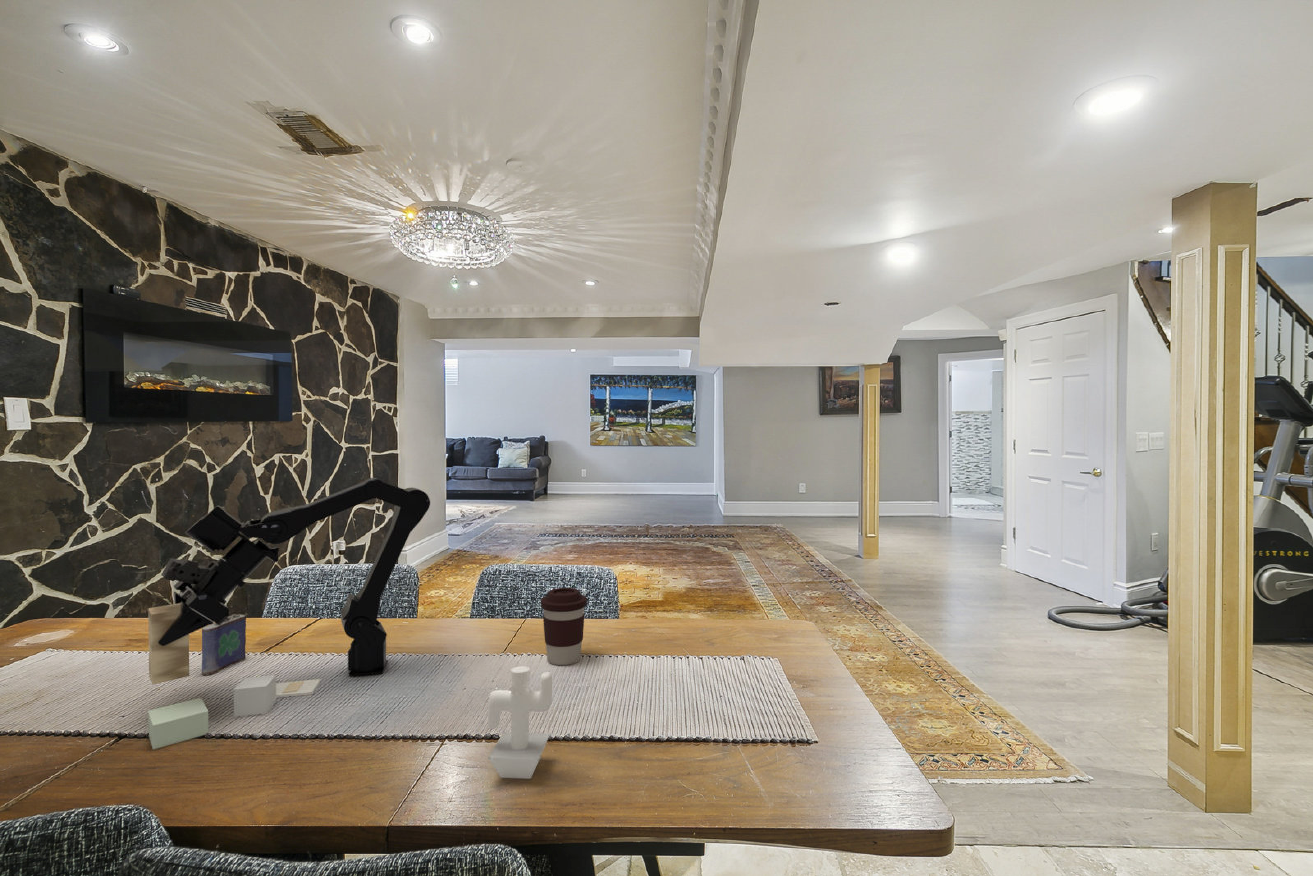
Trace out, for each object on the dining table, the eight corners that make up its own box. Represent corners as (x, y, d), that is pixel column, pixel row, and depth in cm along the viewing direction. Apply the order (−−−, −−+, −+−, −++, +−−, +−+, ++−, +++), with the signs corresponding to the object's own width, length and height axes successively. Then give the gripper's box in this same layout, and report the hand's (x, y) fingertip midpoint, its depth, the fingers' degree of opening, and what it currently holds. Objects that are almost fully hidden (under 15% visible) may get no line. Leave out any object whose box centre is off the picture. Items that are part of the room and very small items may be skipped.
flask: (209, 676, 121) (209, 619, 121) (196, 675, 122) (195, 619, 122) (249, 658, 131) (249, 605, 131) (237, 657, 132) (236, 605, 132)
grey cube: (276, 702, 110) (276, 675, 110) (266, 714, 105) (266, 686, 105) (245, 705, 109) (245, 678, 109) (233, 718, 104) (233, 689, 104)
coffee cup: (565, 672, 124) (565, 600, 123) (531, 662, 129) (531, 592, 129) (596, 657, 132) (596, 589, 132) (562, 648, 137) (562, 583, 137)
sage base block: (201, 720, 103) (200, 697, 103) (208, 735, 98) (208, 711, 98) (148, 735, 98) (148, 710, 98) (153, 751, 94) (152, 725, 93)
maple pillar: (184, 668, 109) (184, 602, 109) (189, 676, 105) (188, 608, 105) (149, 676, 105) (148, 608, 105) (152, 684, 102) (151, 614, 102)
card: (320, 681, 119) (320, 678, 119) (312, 694, 113) (312, 690, 113) (275, 686, 117) (275, 682, 117) (264, 699, 111) (264, 695, 111)
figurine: (496, 755, 92) (496, 658, 92) (557, 757, 91) (557, 659, 91) (480, 783, 85) (479, 677, 84) (545, 785, 84) (545, 679, 84)
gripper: (187, 534, 114) (110, 604, 107) (205, 548, 101) (118, 628, 94) (237, 568, 120) (167, 637, 112) (260, 585, 107) (182, 664, 99)
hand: (158, 640), depth 104 cm, fingers closed on maple pillar, 5 cm apart
